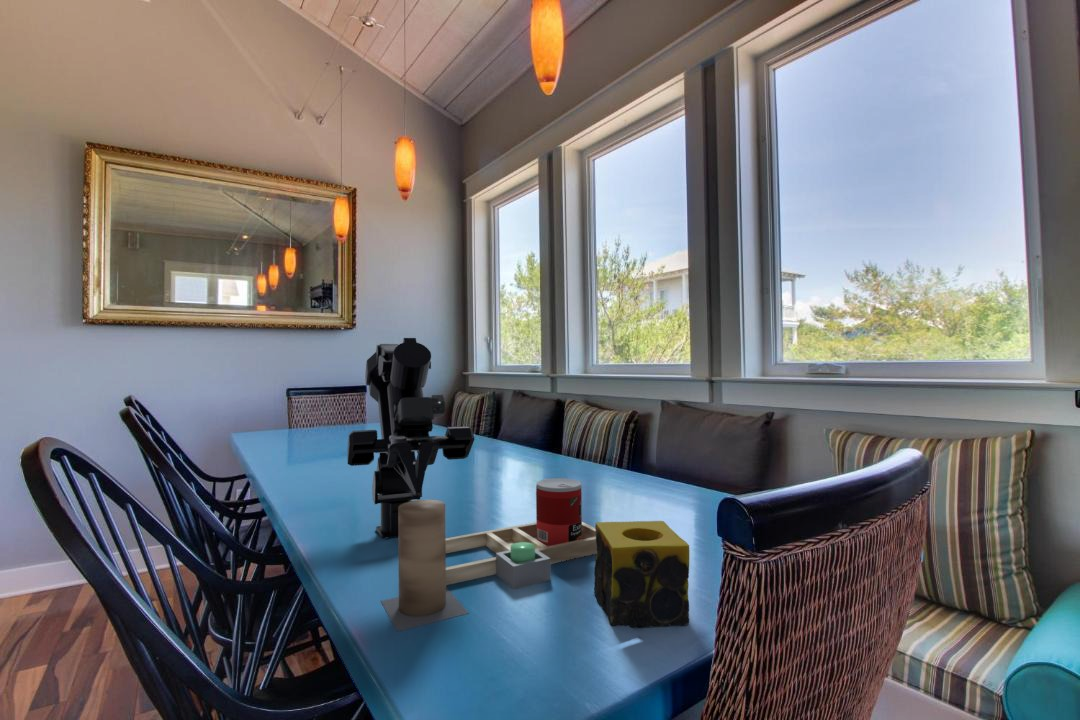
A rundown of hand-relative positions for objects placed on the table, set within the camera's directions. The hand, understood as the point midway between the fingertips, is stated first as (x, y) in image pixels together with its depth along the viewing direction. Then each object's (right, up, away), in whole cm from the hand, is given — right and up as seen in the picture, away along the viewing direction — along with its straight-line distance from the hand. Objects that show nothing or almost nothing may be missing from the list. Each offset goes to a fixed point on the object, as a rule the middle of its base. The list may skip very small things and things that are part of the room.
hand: (418, 493), depth 75 cm
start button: (+15, -11, +1) cm, 19 cm away
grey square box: (+15, -13, +1) cm, 20 cm away
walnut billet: (+2, -13, -8) cm, 15 cm away
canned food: (+21, -13, +15) cm, 29 cm away
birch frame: (+14, -13, +11) cm, 22 cm away
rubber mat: (+3, -13, -8) cm, 16 cm away
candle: (+31, -13, -8) cm, 34 cm away
